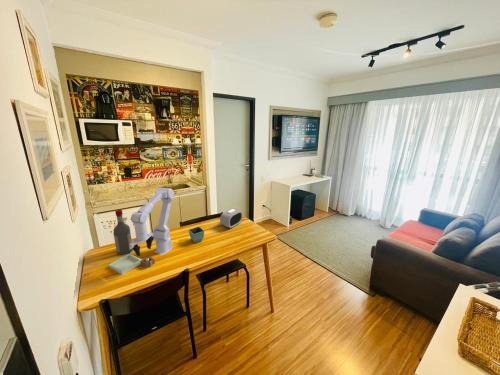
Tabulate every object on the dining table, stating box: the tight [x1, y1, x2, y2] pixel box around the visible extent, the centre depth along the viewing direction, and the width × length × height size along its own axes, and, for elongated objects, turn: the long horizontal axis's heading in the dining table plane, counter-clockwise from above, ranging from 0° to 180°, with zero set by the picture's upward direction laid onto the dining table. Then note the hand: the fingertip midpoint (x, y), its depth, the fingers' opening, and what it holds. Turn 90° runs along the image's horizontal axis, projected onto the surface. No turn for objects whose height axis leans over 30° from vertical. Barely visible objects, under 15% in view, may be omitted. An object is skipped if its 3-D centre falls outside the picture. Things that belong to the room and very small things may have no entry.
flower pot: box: [188, 226, 205, 244], centre depth 152 cm, size 9×9×9 cm
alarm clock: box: [219, 208, 244, 229], centre depth 179 cm, size 21×10×13 cm, turn 147°
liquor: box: [112, 209, 134, 257], centre depth 134 cm, size 9×9×30 cm
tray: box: [108, 253, 143, 276], centre depth 124 cm, size 13×13×3 cm
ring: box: [140, 256, 156, 269], centre depth 125 cm, size 6×6×3 cm
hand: (143, 251), depth 122 cm, fingers open, 7 cm apart
